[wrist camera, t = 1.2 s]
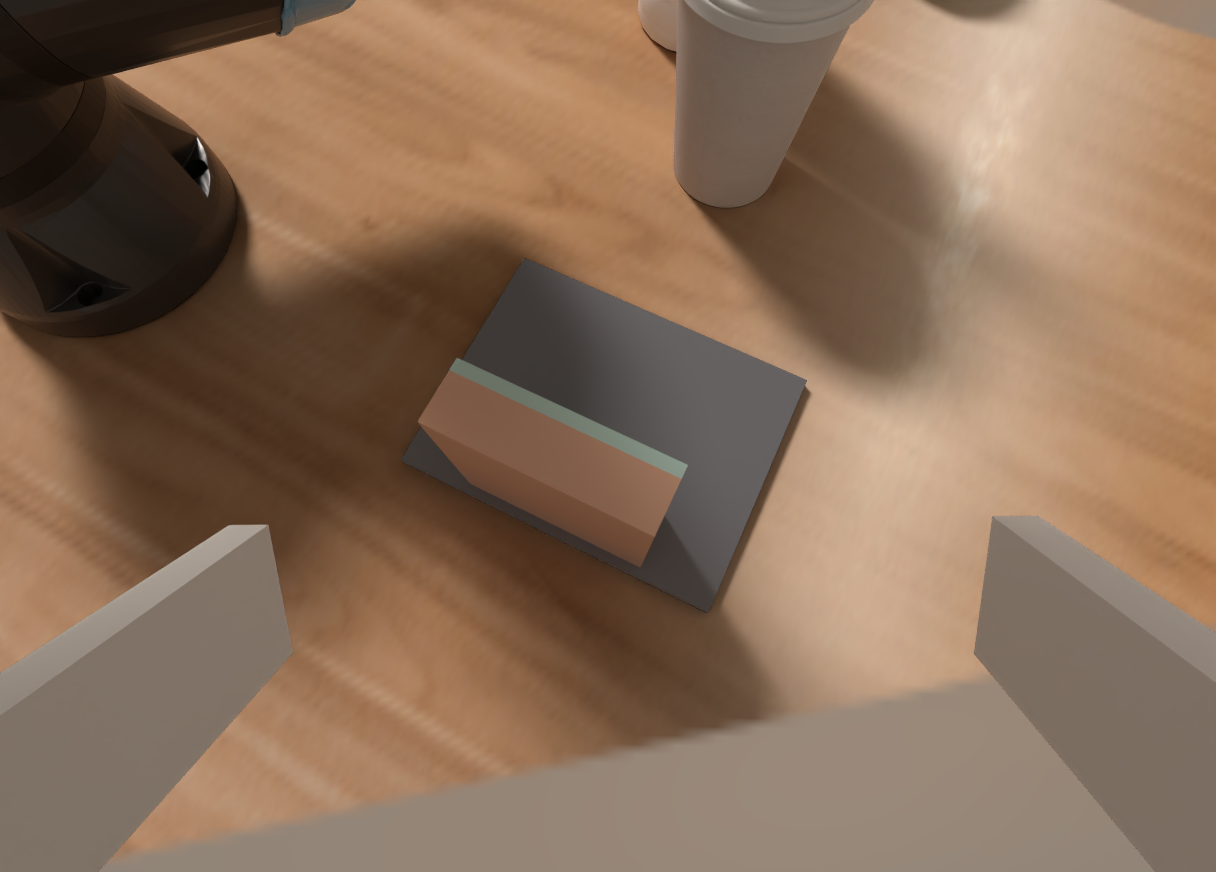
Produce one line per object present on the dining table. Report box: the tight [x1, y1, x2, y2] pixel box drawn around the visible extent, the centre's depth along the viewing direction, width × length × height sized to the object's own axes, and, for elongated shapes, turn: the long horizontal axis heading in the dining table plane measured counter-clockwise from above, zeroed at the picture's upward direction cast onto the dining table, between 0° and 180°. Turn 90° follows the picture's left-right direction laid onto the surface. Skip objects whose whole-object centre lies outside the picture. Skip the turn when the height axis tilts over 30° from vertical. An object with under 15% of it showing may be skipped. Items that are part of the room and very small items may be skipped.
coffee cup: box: [674, 0, 874, 208], centre depth 34 cm, size 10×10×15 cm
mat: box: [401, 258, 807, 613], centre depth 35 cm, size 18×14×1 cm
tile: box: [417, 358, 688, 567], centre depth 29 cm, size 10×3×10 cm, turn 64°
